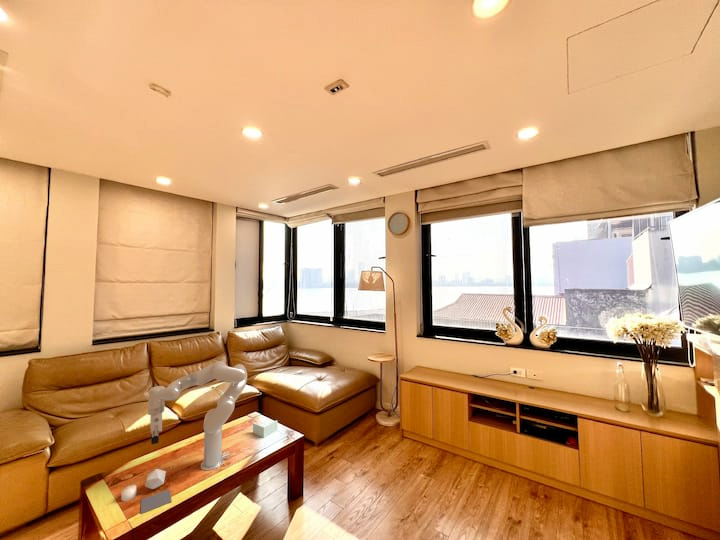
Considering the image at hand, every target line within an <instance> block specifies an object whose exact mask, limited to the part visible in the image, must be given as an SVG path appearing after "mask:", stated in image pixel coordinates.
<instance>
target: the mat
mask: <svg viewBox="0 0 720 540" xmlns="http://www.w3.org/2000/svg"><path fill="white" fill-rule="evenodd" d="M171 503H172V494H171V489H170V488H168V489H166V490H163V491H161V492H157V493H154V494H152V495H150V496H147V497H145V498H141V499H140V515H143V514H146V513H147V512H151V511H152V510H155V509H157V508H160V507H162V506H165V505H168V504H171Z"/></svg>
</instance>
